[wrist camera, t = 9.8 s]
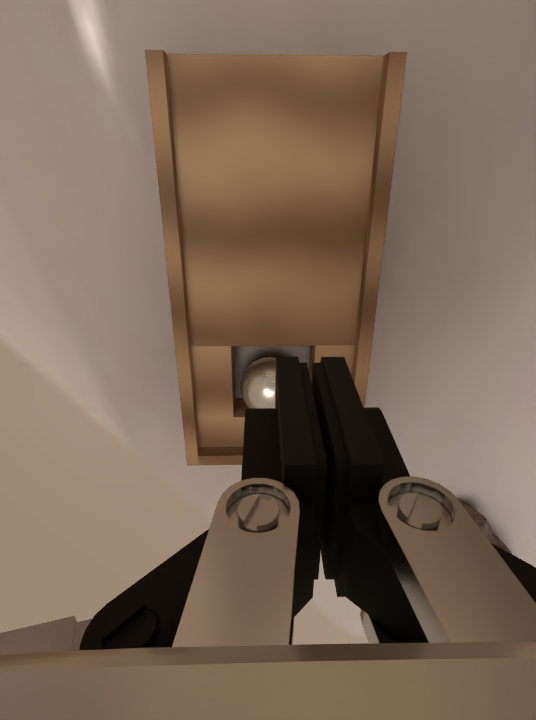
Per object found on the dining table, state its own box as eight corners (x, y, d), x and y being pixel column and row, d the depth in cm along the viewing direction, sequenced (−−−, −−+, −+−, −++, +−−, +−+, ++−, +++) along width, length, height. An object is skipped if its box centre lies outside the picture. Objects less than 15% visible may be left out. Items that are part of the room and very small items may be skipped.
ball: (295, 347, 31) (302, 368, 27) (295, 399, 32) (302, 425, 29) (239, 349, 31) (238, 371, 27) (241, 401, 32) (241, 428, 28)
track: (159, 62, 23) (144, 49, 20) (386, 64, 23) (406, 52, 20) (193, 435, 34) (187, 465, 31) (348, 433, 34) (357, 462, 31)
